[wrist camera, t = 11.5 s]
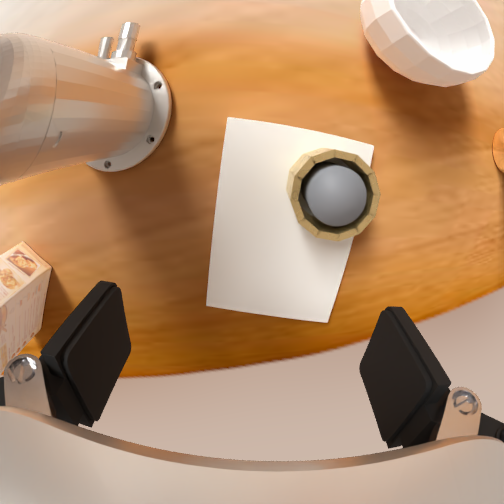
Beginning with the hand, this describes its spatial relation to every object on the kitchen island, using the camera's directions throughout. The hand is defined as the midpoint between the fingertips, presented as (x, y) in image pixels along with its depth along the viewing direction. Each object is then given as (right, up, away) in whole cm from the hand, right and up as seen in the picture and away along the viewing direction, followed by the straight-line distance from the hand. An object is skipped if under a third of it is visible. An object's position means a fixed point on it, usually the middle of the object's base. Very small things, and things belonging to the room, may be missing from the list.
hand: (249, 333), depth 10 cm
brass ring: (+7, +9, +16) cm, 20 cm away
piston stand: (+3, +5, +19) cm, 20 cm away
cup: (+16, +25, +11) cm, 31 cm away
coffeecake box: (-34, -3, +25) cm, 42 cm away
